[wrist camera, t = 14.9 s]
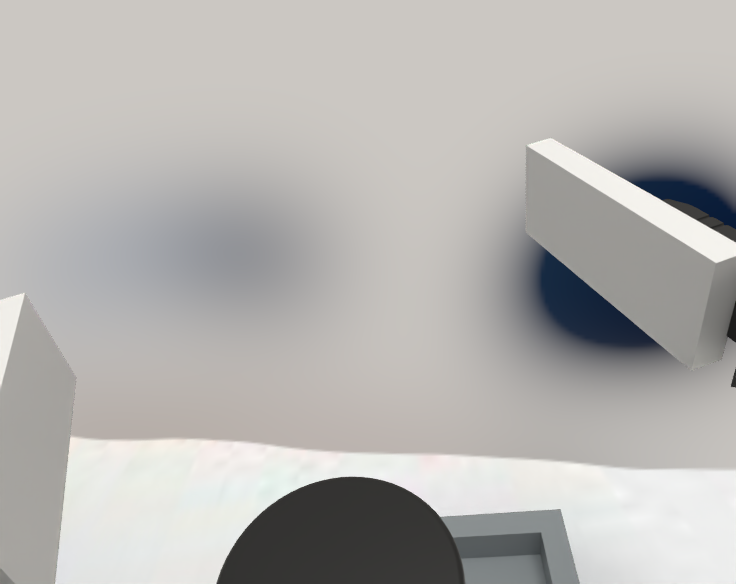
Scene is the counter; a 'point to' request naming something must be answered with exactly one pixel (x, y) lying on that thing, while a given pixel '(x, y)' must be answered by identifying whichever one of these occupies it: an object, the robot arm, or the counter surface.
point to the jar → (345, 539)
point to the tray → (514, 548)
